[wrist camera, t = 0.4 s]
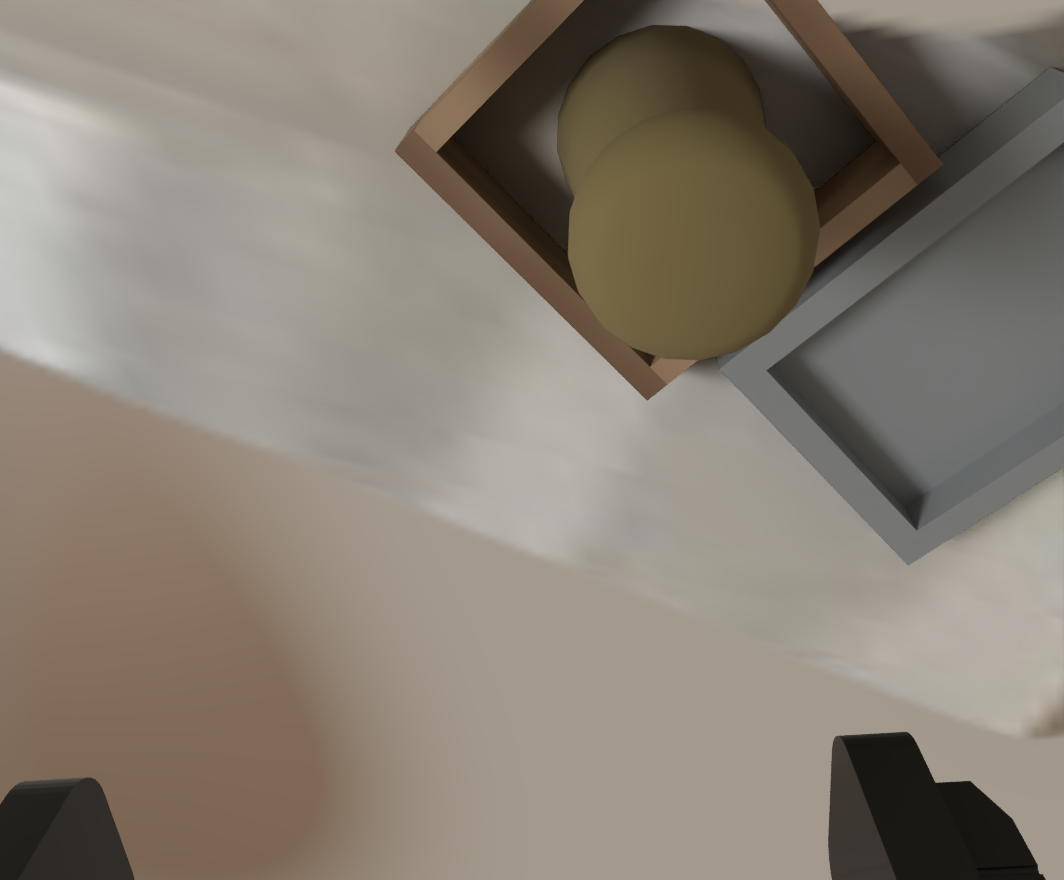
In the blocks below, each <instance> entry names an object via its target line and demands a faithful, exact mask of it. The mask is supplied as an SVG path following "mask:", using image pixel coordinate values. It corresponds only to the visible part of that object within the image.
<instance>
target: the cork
mask: <svg viewBox="0 0 1064 880" xmlns="http://www.w3.org/2000/svg"><path fill="white" fill-rule="evenodd" d="M557 151H558V155H559V158H560V162H561V165H562V169H563V172H564V175H565V179H566V182H567V184H568V186H569V188H570V190H571V192H572V194H573V196H574V201H573V204H572V206H571V209H570V216H569V238H568V259H569V262H570V266H571V269H572V273H573V276H574V279H575V283H576V286H577V289H578V292H579V294H580V295H581V296H582V298H583V299H584V301H585V302H586V303H587V305H588V306H589V308H590V309H591V310H592V312H593V313H594V315H595V316H596V317H597V319H598V320H599V322H600V323H601V324H602V325H603V327H604V328H606V329H607V330H609V331H610V332H611V333H613V334H614V335H615V336H617V337H618V338H619V339H621V340H622V341H624V342H625V343H626V344H628V345H629V346H630V347H632V348H634V349H637V350H640V351H643V352H646V353H649V354H652V355H655V356H658V357H661V358H664V359H679V360H705V359H709V358H713V357H717V356H721V355H725V354H729V353H733V352H737V351H739V350H740V349H742V348H744V347H746V346H747V345H749V344H751V343H753V342H754V341H756V340H758V339H760V338H761V337H763V336H765V335H767V334H768V333H770V332H771V331H772V330H773V329H774V328H775V327H776V326H777V325H778V324H779V323H780V321H781V320H782V319H783V318H784V317H785V316H786V315H787V314H788V313H789V312H790V311H791V310H792V309H793V308H794V307H795V306H796V304H797V302H798V300H799V298H800V297H801V295H802V293H803V291H804V289H805V287H806V285H807V283H808V281H809V279H810V277H811V275H812V273H813V269H814V263H815V257H816V251H817V245H818V239H819V231H820V223H819V217H818V211H817V205H816V199H815V194H814V188H813V187H812V185H811V183H810V181H809V179H808V178H807V176H806V174H805V172H804V171H803V169H802V167H801V165H800V163H799V162H798V160H797V158H796V156H795V155H794V154H793V152H792V151H791V150H790V149H789V148H788V147H787V146H786V145H785V144H784V143H782V142H781V141H780V140H779V139H778V138H776V137H775V136H774V135H773V134H772V133H771V132H769V131H768V130H767V129H766V122H765V116H764V111H763V106H762V100H761V95H760V89H759V88H758V86H757V84H756V82H755V80H754V79H753V77H752V75H751V73H750V72H749V70H748V68H747V66H746V64H745V63H744V61H743V60H742V59H741V58H740V57H739V56H738V55H737V54H735V53H734V52H733V51H732V50H731V49H730V48H728V47H727V46H726V45H725V44H724V43H723V42H722V41H720V40H719V39H718V38H716V37H713V36H711V35H708V34H705V33H703V32H700V31H698V30H695V29H692V28H690V27H687V26H661V25H651V26H648V27H645V28H642V29H638V30H635V31H632V32H629V33H626V34H623V35H619V36H618V37H616V38H615V39H613V40H612V41H611V42H609V43H608V44H606V45H605V46H604V47H602V48H601V49H599V50H598V51H597V52H595V53H594V54H593V55H591V56H590V57H589V58H588V60H587V61H586V62H585V64H584V65H583V66H582V68H581V69H580V70H579V72H578V73H577V75H576V76H575V77H574V79H573V80H572V81H571V83H570V84H569V86H568V89H567V92H566V95H565V98H564V101H563V104H562V107H561V109H560V112H559V115H558V134H557Z"/></svg>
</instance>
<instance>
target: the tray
mask: <svg viewBox="0 0 1064 880" xmlns="http://www.w3.org/2000/svg"><path fill="white" fill-rule="evenodd" d="M938 158H939V159H940V161H941V162H942V163H943V165H942V166H941V167H940V168H938V169H937V170H936V171H935V172H933V173H932V174H931V175H930V176H928V177H927V178H926V179H925V180H923V181H922V182H921V183H919V184H918V185H917V186H916V187H914V188H913V189H912V190H911V191H909V192H908V193H907V194H906V195H904V196H903V197H902V198H901V199H899V200H898V201H897V202H896V203H894V204H893V205H892V206H891V207H889V208H888V209H887V210H886V211H884V212H883V213H882V214H881V215H879V216H878V217H877V218H876V219H874V220H873V221H872V222H871V223H869V224H868V225H867V226H866V227H864V228H863V229H862V230H861V231H859V232H858V233H857V234H856V235H854V236H853V237H852V238H850V239H849V240H848V241H847V242H845V243H844V244H843V245H842V246H840V247H839V248H838V249H837V250H835V251H834V252H833V253H832V254H830V255H829V256H828V257H827V258H825V259H824V260H823V261H822V262H820V263H819V264H818V265H817V266H815V267H814V269H813V273H812V275H811V277H810V279H809V281H808V283H807V285H806V287H805V289H804V291H803V293H802V295H801V297H800V298H799V300H798V302H797V304H796V306H795V307H794V308H793V309H792V310H791V311H790V312H789V313H788V314H787V315H786V316H785V317H784V318H783V319H782V320H781V321H780V323H779V324H778V325H777V326H776V327H775V328H774V329H773V330H772V331H771V332H770V333H768V334H767V335H765V336H763V337H761V338H760V339H758V340H756V341H754V342H753V343H751V344H749V345H747V346H746V347H744V348H742V349H740V350H739V351H737V352H733V353H729V354H725V355H721V356H717V357H716V359H717V363H718V366H719V369H720V370H721V371H722V372H723V373H724V375H725V376H726V377H727V378H728V379H729V380H730V381H731V382H732V383H733V384H734V385H735V386H736V387H737V388H738V389H739V390H740V391H741V392H742V393H743V394H744V395H745V396H746V397H747V398H748V399H749V401H750V402H751V403H752V404H753V405H754V406H755V407H756V408H757V409H758V410H759V411H760V412H761V413H762V414H763V415H764V416H765V417H766V418H767V419H768V420H769V421H770V422H771V423H772V424H773V425H774V427H775V428H776V429H777V430H778V431H779V432H780V433H781V434H782V435H783V436H784V437H785V438H786V439H787V440H788V441H789V442H790V443H791V444H792V445H793V446H794V447H795V448H796V449H797V450H798V451H799V453H800V454H801V455H802V456H803V457H804V458H805V459H806V460H807V461H808V462H809V463H810V464H811V465H812V466H813V467H814V468H815V469H816V470H817V471H818V472H819V473H820V474H821V475H822V476H823V477H824V479H825V480H826V481H827V482H828V483H829V484H830V485H831V486H832V487H833V488H834V489H835V490H836V491H837V492H838V493H839V494H840V495H841V496H842V497H843V498H844V499H845V500H846V501H847V502H848V503H849V505H850V506H851V507H852V508H853V509H854V510H855V511H856V512H857V513H858V514H859V515H860V516H861V517H862V518H863V519H864V520H865V521H866V522H867V523H868V524H869V525H870V526H871V527H872V528H873V529H874V531H875V532H876V533H877V534H878V535H879V536H880V537H881V538H882V539H883V540H884V541H885V542H886V543H887V544H888V545H889V546H890V547H891V548H892V549H893V550H894V551H895V552H896V553H897V554H898V555H899V557H900V558H901V559H902V560H903V561H904V562H905V563H906V564H907V565H910V564H911V563H913V562H914V561H916V560H918V559H919V558H921V557H922V556H924V555H925V554H927V553H929V552H930V551H932V550H933V549H935V548H937V547H938V546H940V545H941V544H943V543H944V542H946V541H948V540H949V539H951V538H952V537H954V536H955V535H957V534H959V533H960V532H962V531H963V530H965V529H966V528H968V527H970V526H971V525H973V524H974V523H976V522H978V521H979V520H981V519H982V518H984V517H985V516H987V515H989V514H990V513H992V512H993V511H995V510H996V509H998V508H1000V507H1001V506H1003V505H1004V504H1006V503H1008V502H1009V501H1011V500H1012V499H1014V498H1015V497H1017V496H1019V495H1020V494H1022V493H1023V492H1025V491H1026V490H1028V489H1030V488H1031V487H1033V486H1034V485H1036V484H1037V483H1039V482H1041V481H1042V480H1044V479H1045V478H1047V477H1049V476H1050V475H1052V474H1053V473H1055V472H1056V471H1058V470H1060V469H1061V468H1063V467H1064V72H1061V71H1059V70H1056V69H1054V68H1052V67H1050V68H1049V69H1047V70H1046V71H1045V72H1044V73H1042V74H1041V75H1040V76H1039V77H1037V78H1036V79H1035V80H1034V81H1032V82H1031V83H1030V84H1029V85H1027V86H1026V87H1025V88H1024V89H1022V90H1021V91H1020V92H1019V93H1017V94H1016V95H1015V96H1014V97H1012V98H1011V99H1010V100H1009V101H1008V102H1006V103H1005V104H1004V105H1003V106H1001V107H1000V108H999V109H998V110H996V111H995V112H994V113H993V114H991V115H990V116H989V117H988V118H986V119H985V120H984V121H983V122H981V123H980V124H979V125H978V126H976V127H975V128H974V129H973V130H971V131H970V132H969V133H968V134H966V135H965V136H964V137H963V138H961V139H960V140H959V141H958V142H956V143H955V144H954V145H953V146H951V147H950V148H949V149H948V150H946V151H945V152H944V153H943V154H941V155H940V156H939V157H938Z"/></svg>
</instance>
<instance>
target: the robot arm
mask: <svg viewBox="0 0 1064 880" xmlns="http://www.w3.org/2000/svg"><path fill="white" fill-rule="evenodd" d="M828 842H829V843H828V847H829V861H830V869H831V876H832V880H1046V879H1045V878H1044V876H1043V874H1039V871H1038V865H1037V863H1036V861H1035V860H1034V858H1033V856H1032V854H1031V852H1030V850H1029V848H1028V847H1027V845H1026V843H1025V841H1024V839H1023V837H1022V836H1021V834H1020V832H1019V830H1018V828H1017V827H1016V825H1015V823H1014V821H1013V819H1012V818H1010V816H1008V815H1007V814H1006V813H1005V812H1004V811H1003V810H1002V809H1001V808H999V807H998V806H997V805H996V804H995V803H994V802H993V801H992V800H991V799H989V798H988V797H987V796H986V795H985V794H984V793H983V792H982V791H981V790H979V789H978V788H977V787H976V786H975V785H974V784H973V783H972V782H971V781H963V782H962V781H961V782H944V783H935V781H934V779H933V777H932V775H931V773H930V771H929V768H928V766H927V764H926V762H925V760H924V758H923V756H922V754H921V752H920V750H919V748H918V745H917V743H916V742H915V740H914V738H913V737H912V736H911V735H910V734H909V733H908V732H896V733H880V734H863V735H845V736H836V737H835V738H834V741H833V747H832V764H831V791H830V813H829V837H828ZM0 880H134V876H133V872H132V869H131V867H130V864H129V861H128V858H127V856H126V853H125V850H124V847H123V845H122V842H121V839H120V836H119V833H118V830H117V828H116V825H115V822H114V819H113V817H112V814H111V811H110V808H109V805H108V803H107V800H106V797H105V794H104V792H103V790H102V787H101V786H100V784H99V783H98V782H97V781H96V780H95V779H93V778H71V779H55V780H38V781H24V782H21V783H19V784H17V785H15V786H14V787H13V788H12V789H11V790H10V792H9V793H8V794H7V796H6V797H5V798H4V800H3V801H2V803H1V804H0Z"/></svg>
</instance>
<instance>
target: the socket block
mask: <svg viewBox="0 0 1064 880" xmlns="http://www.w3.org/2000/svg"><path fill="white" fill-rule="evenodd" d="M583 1H584V0H531V1H530V2H529V4H528V5H527V6H526V7H525V8H524V9H523V10H522V11H521V12H520V13H519V14H518V15H517V16H516V17H515V18H514V19H513V20H512V21H511V23H510V24H509V25H508V26H507V27H506V28H505V29H504V30H503V31H502V32H501V33H500V34H499V35H498V36H497V37H496V38H495V39H494V40H493V42H492V43H491V44H490V45H489V46H488V47H487V48H486V49H485V50H484V51H483V52H482V53H481V54H480V55H479V56H478V57H477V58H476V59H475V60H474V62H473V63H472V64H471V65H470V66H469V67H468V68H467V69H466V70H465V71H464V72H463V73H462V74H461V75H460V76H459V77H458V78H457V79H456V81H455V82H454V83H453V84H452V85H451V86H450V87H449V88H448V89H447V90H446V91H445V92H444V93H443V94H442V95H441V96H440V97H439V98H438V100H437V101H436V102H435V103H434V104H433V105H432V106H431V107H430V108H429V109H428V110H427V111H426V112H425V113H424V114H423V115H422V116H421V117H420V119H419V120H418V121H417V122H416V123H415V124H414V125H413V126H412V127H411V128H410V129H409V130H408V132H407V133H406V135H405V136H404V138H403V139H402V141H401V142H400V144H399V145H398V147H397V148H396V150H395V152H396V153H397V154H398V155H399V156H400V157H401V158H402V159H403V160H404V161H405V162H406V163H407V164H408V165H409V166H410V167H411V168H412V169H413V170H414V171H415V172H416V173H417V174H418V175H419V176H420V177H421V178H422V179H423V180H424V181H425V182H426V183H427V184H428V185H429V186H430V187H431V188H432V189H433V190H434V191H435V192H436V193H437V194H438V195H439V196H440V197H441V198H442V199H443V200H444V201H445V202H446V203H447V204H449V205H450V206H451V207H452V208H453V209H454V210H455V211H456V212H457V213H458V214H459V215H460V216H461V217H462V218H463V219H464V220H465V221H466V222H467V223H468V224H469V225H470V226H471V227H472V228H473V229H474V230H475V231H476V232H477V233H478V234H479V235H480V236H481V237H482V238H483V239H484V240H485V241H486V242H487V243H488V244H489V245H490V246H491V247H492V248H493V249H494V250H495V251H496V252H497V253H498V254H499V255H500V256H501V257H502V258H503V259H504V260H505V261H506V262H507V263H508V264H509V265H510V266H511V267H512V268H513V269H514V270H515V271H516V272H517V273H518V274H519V275H520V276H522V277H523V278H524V279H525V280H526V281H527V282H528V283H529V284H530V285H531V286H532V287H533V288H534V289H535V290H536V291H537V292H538V293H539V294H540V295H541V296H542V297H543V298H544V299H545V300H546V301H547V302H548V303H549V304H550V305H551V306H552V307H553V308H554V309H555V310H556V311H557V312H558V313H559V314H560V315H561V316H562V317H563V318H564V319H565V320H566V321H567V322H568V323H569V324H570V325H571V326H572V327H573V328H574V329H575V330H576V331H577V332H578V333H579V334H580V335H581V336H582V337H583V338H584V339H585V340H586V341H587V342H588V343H589V344H590V345H591V346H592V347H594V348H595V349H596V350H597V351H598V352H599V353H600V354H601V355H602V356H603V357H604V358H605V359H606V360H607V361H608V362H609V363H610V364H611V365H612V366H613V367H614V368H615V369H616V370H617V371H618V372H619V373H620V374H621V375H622V376H623V377H624V378H625V379H626V380H627V381H628V382H629V383H630V384H631V385H632V386H633V387H634V388H635V389H636V390H637V391H638V392H639V393H640V394H641V395H642V396H643V397H644V398H645V399H646V400H649V399H650V398H651V397H652V396H654V395H655V394H656V393H657V392H659V391H660V390H661V389H662V388H664V387H665V386H666V385H667V384H669V383H670V382H671V381H672V380H674V379H675V378H676V377H677V376H679V375H680V374H681V373H682V372H684V371H685V370H686V369H687V368H689V367H690V366H691V365H692V364H694V363H695V362H696V361H697V360H679V359H664V358H661V357H658V356H655V355H652V354H649V353H646V352H643V351H640V350H637V349H634V348H632V347H630V346H629V345H628V344H626V343H625V342H624V341H622V340H621V339H619V338H618V337H617V336H615V335H614V334H613V333H611V332H610V331H609V330H607V329H606V328H604V327H603V325H602V324H601V323H600V322H599V320H598V319H597V317H596V316H595V315H594V313H593V312H592V310H591V309H590V308H589V306H588V305H587V303H586V302H585V301H584V299H583V298H582V296H581V295H580V294H579V292H578V289H577V286H576V283H575V279H574V276H573V273H572V269H571V266H570V262H569V259H568V254H567V253H566V252H565V251H564V250H563V249H562V248H561V247H560V246H559V245H558V244H557V243H556V242H555V241H554V240H553V239H552V238H551V237H550V236H549V235H548V234H547V233H546V232H545V231H544V230H543V229H542V228H541V227H540V226H539V225H538V224H537V223H536V222H535V221H534V220H533V219H532V218H531V217H530V216H529V215H528V213H527V212H526V211H525V210H524V209H523V208H522V207H521V206H520V205H519V204H518V203H517V202H516V201H515V200H514V199H513V198H512V197H511V196H510V195H509V194H508V193H507V192H506V191H505V190H504V189H503V188H502V187H501V186H500V185H499V184H498V183H497V182H496V181H495V180H494V179H493V178H492V177H491V176H490V175H489V174H488V173H487V172H486V171H485V170H484V169H483V168H482V167H481V166H480V165H479V164H478V163H477V162H476V160H475V159H474V158H473V157H472V156H471V155H470V154H469V153H468V152H467V151H466V150H465V149H464V148H463V147H462V146H461V145H460V144H459V143H458V142H457V141H456V140H455V139H454V138H453V137H452V135H453V134H454V133H455V132H456V131H457V130H458V129H459V128H460V127H461V126H462V125H463V124H464V123H465V122H466V121H467V120H468V119H469V118H470V117H471V116H472V115H473V114H474V113H475V112H476V111H477V110H478V109H479V108H480V107H481V106H482V105H483V104H484V103H485V101H486V100H487V99H488V98H489V97H490V96H491V95H492V94H493V93H494V92H495V91H496V90H497V89H498V88H499V87H500V86H501V85H502V84H503V83H504V82H505V81H506V80H507V79H508V78H509V77H510V76H511V75H512V74H513V73H514V72H515V71H516V70H517V69H518V68H519V67H520V66H521V65H522V63H523V62H524V61H525V60H526V59H527V58H528V57H529V56H530V55H531V54H532V53H533V52H534V51H535V50H536V49H537V48H538V47H539V46H540V45H541V44H542V43H543V42H544V41H545V40H546V39H547V38H548V37H549V36H550V35H551V34H552V33H553V32H554V31H555V30H556V29H557V28H558V27H559V25H560V24H561V23H562V22H563V21H564V20H565V19H566V18H567V17H568V16H569V15H570V14H571V13H572V12H573V11H574V10H575V9H576V8H577V7H578V6H579V5H580V4H581V3H582V2H583ZM765 1H766V2H767V4H768V5H769V6H770V7H771V9H772V10H773V11H774V13H775V14H776V15H777V16H778V18H779V19H780V20H781V21H782V23H783V24H784V25H785V26H786V28H787V29H788V30H789V32H790V33H791V34H792V35H793V37H794V38H795V39H796V40H797V42H798V43H799V44H800V45H801V47H802V48H803V49H804V50H805V52H806V53H807V54H808V56H809V57H810V58H811V59H812V61H813V62H814V63H815V64H816V66H817V67H818V68H819V69H820V71H821V72H822V73H823V74H824V76H825V77H826V78H827V80H828V81H829V82H830V83H831V85H832V86H833V87H834V88H835V90H836V91H837V92H838V93H839V95H840V96H841V97H842V98H843V100H844V101H845V102H846V104H847V105H848V106H849V107H850V109H851V110H852V111H853V112H854V114H855V115H856V116H857V117H858V119H859V120H860V121H861V123H862V124H863V125H864V126H865V128H866V129H867V130H868V131H869V133H870V134H871V135H872V136H873V138H874V139H875V140H876V142H875V143H874V144H872V145H871V146H870V147H869V148H868V149H866V150H865V151H864V152H863V153H862V154H860V155H859V156H858V157H857V158H856V159H854V160H853V161H852V162H851V163H850V164H848V165H847V166H846V167H845V168H844V169H842V170H841V171H840V172H839V173H838V174H836V175H835V176H834V177H833V178H832V179H830V180H829V181H828V182H827V183H826V184H824V185H823V186H822V187H821V188H820V189H818V190H817V191H816V192H815V193H814V194H815V199H816V205H817V211H818V217H819V223H820V231H819V239H818V245H817V251H816V257H815V263H814V267H815V266H817V265H818V264H819V263H820V262H822V261H823V260H824V259H825V258H827V257H828V256H829V255H830V254H832V253H833V252H834V251H835V250H837V249H838V248H839V247H840V246H842V245H843V244H844V243H845V242H847V241H848V240H849V239H850V238H852V237H853V236H854V235H856V234H857V233H858V232H859V231H861V230H862V229H863V228H864V227H866V226H867V225H868V224H869V223H871V222H872V221H873V220H874V219H876V218H877V217H878V216H879V215H881V214H882V213H883V212H884V211H886V210H887V209H888V208H889V207H891V206H892V205H893V204H894V203H896V202H897V201H898V200H899V199H901V198H902V197H903V196H904V195H906V194H907V193H908V192H909V191H911V190H912V189H913V188H914V187H916V186H917V185H918V184H919V183H921V182H922V181H923V180H925V179H926V178H927V177H928V176H930V175H931V174H932V173H933V172H935V171H936V170H937V169H938V168H940V167H941V166H942V165H943V163H942V162H941V161H940V159H939V158H938V157H937V155H936V154H935V153H934V151H933V150H932V149H931V148H930V146H929V145H928V144H927V142H926V141H925V140H924V138H923V137H922V136H921V134H920V133H919V132H918V131H917V129H916V128H915V127H914V125H913V124H912V123H911V121H910V120H909V119H908V118H907V116H906V115H905V114H904V112H903V111H902V110H901V108H900V107H899V106H898V105H897V103H896V102H895V101H894V99H893V98H892V97H891V95H890V94H889V93H888V92H887V90H886V89H885V88H884V86H883V85H882V84H881V82H880V81H879V80H878V79H877V77H876V76H875V75H874V73H873V72H872V71H871V69H870V68H869V67H868V66H867V64H866V63H865V62H864V60H863V59H862V58H861V56H860V55H859V54H858V53H857V51H856V50H855V49H854V47H853V46H852V45H851V43H850V42H849V41H848V40H847V38H846V37H845V36H844V34H843V33H842V32H841V30H840V29H839V28H838V27H837V25H836V24H835V23H834V21H833V20H832V19H831V17H830V16H829V15H828V14H827V12H826V11H825V10H824V8H823V7H822V6H821V4H820V3H819V2H818V1H817V0H765Z"/></svg>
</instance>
